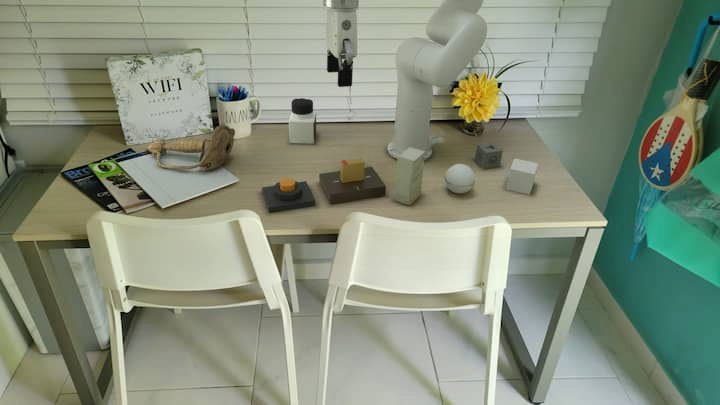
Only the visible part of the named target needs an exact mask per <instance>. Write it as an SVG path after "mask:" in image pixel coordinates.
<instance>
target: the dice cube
mask: <svg viewBox="0 0 720 405" xmlns="http://www.w3.org/2000/svg"><path fill="white" fill-rule="evenodd" d="M502 156H503V149H502V148H501V147H500V146H499V145H497V144H496V143H495V142H493V141H492V142H484V143H477V144H476V149H475V155H474V162H475V163H476V164H477V165H478V166H479V167H480V168H481V169H482V170H486V169H494V168H500V166H501V161H502Z"/></svg>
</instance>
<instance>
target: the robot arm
mask: <svg viewBox="0 0 720 405" xmlns="http://www.w3.org/2000/svg"><path fill="white" fill-rule="evenodd" d="M359 1H360V0H322V2H323V3H322V6H323V7H322V8H323V9H325V10H326V21H325V22H326V25H325V43H326V48H327V50H326V53H327V55H326V72H327V73H328V74H329V73H337V87H339V88H346V87H352V86H353V69H354V59H355V58H356V57H357V56H358V16H357V11H358V10H359V5H360V4H359ZM483 4H484V0H443V1H442V3H441V4H440V5H439V6H438V7H437V9H436V10H435V11H434V12H433V13H432V15H431V16H430V18H429V19H428V21H427V23H426V25H425V34H426V36H427V37H428V39H429V40H428V39H425V38H422V37H416V36H413V37H408V38H406V39H405V40H403V41H402V42H401V43H400V44H399V46H398V47H397V49H396V52H395V53H396V54H395V67H396V78H397V88H396V91H397V92H396V102H395V114H394V115H395V116H394V129H393V140H392V141H390V142H389V143H388V144H387V148H386V149H387V150H386V151H387V153H388V154H389V156H391V157H392V158H394V159H396V160H397V159H398V156H399V155H400V154H401V153H402V152H403V151H405V150H406V149H407V148H408V147H412V148H416V149H419V150H422V151H425V157H424V161H426V160H428V159H429V158H431V156H432V154H433V148H432V147H434V146H435V145H436V146H439V145H444V138H443V137H436V135H435V134H433V135H429V134H430V133H429V132H430V125H431V115H432V106H433V100H434V99H433V98H434V88H433V87H436V88H446V87H448V86H450V85H452V84H453V83H454V82H455V81H456V80H457V78H458V77H459V76H460V75H461V74H462V73H463V72H464V70H465V69H466V68H467V67H468V65H469V64H470V63H471V62H472V61H473V59H474V58H475V57H476V55H477V54H478V53H479V52H480V50H481V49H482V48H483V46H484V44H485V41H486V38H487V35H488V24H487V22H486V20H485V18H483V16H481V15H479V14H478V12H479V10H480V9H481V8H482V6H483Z"/></svg>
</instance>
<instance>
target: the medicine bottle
mask: <svg viewBox="0 0 720 405" xmlns="http://www.w3.org/2000/svg"><path fill="white" fill-rule="evenodd" d="M288 133H289V134H288V135H289V143H290V144H300V145H301V144H303V145H304V144H305V145H314V144H315V143H316V138H317V112H316V111H314V101H313V100H312V99H311V98H309V97H305V96H304V97H303V96H301V97H296V98H294V99H292V100H291V112H290V116H289V119H288Z"/></svg>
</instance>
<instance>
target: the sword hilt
mask: <svg viewBox="0 0 720 405" xmlns="http://www.w3.org/2000/svg"><path fill="white" fill-rule="evenodd" d="M235 136H236V130H235V129H234V128H230V126H228V125H226V124H219V125H218V126H216V127H215V128H214V130H213V132H212V134H211V136H210V139H206V138H205V139H184V140H176V141H169V142H168V143H166V142H165V141H162V140H156V141H154V142H152V143H150V144H149V145H148V144H147V145H145V146H144V151H145V152H150V153H151V155H152V156H153V157H156V162H157V165H158V166H159V167H162V168H164V169H172V170H192V169H197V168H201V171H202V172H206V171H209V170H213V169H217V168H219V167H220V166H222V165H223V164H224V163H225V162H226V161H227V159H228V158H229V157H230V155H231V152H232V149H233V147H234V142H235V140H234V138H235ZM167 151H169V152H179V153H183V154H184V153H185V154H200V155H199V160H198V163H197V164H193V165H169V164H168V165H167V164H166V165H165V164H162V162H161V156H162V155H163V154H164V153H166V152H167Z"/></svg>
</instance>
